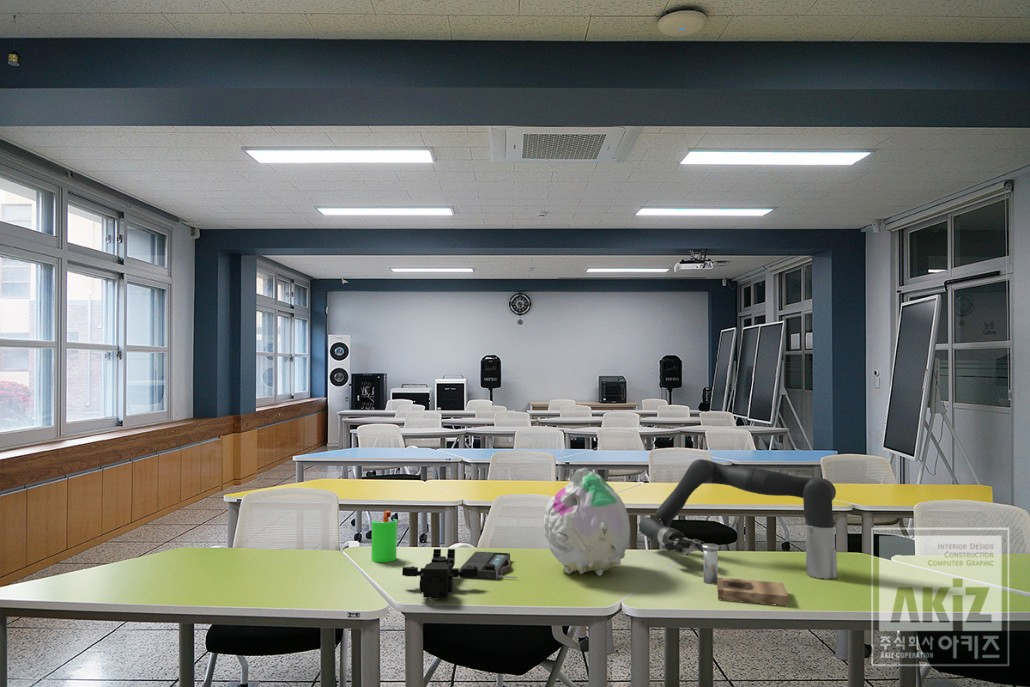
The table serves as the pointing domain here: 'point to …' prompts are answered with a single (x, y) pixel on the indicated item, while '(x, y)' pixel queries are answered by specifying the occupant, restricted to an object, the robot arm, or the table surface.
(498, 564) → the radio
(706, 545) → the silver metal peg
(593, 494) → the sculpture
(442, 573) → the toy
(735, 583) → the block
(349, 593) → the table surface
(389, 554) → the green pencil cup
